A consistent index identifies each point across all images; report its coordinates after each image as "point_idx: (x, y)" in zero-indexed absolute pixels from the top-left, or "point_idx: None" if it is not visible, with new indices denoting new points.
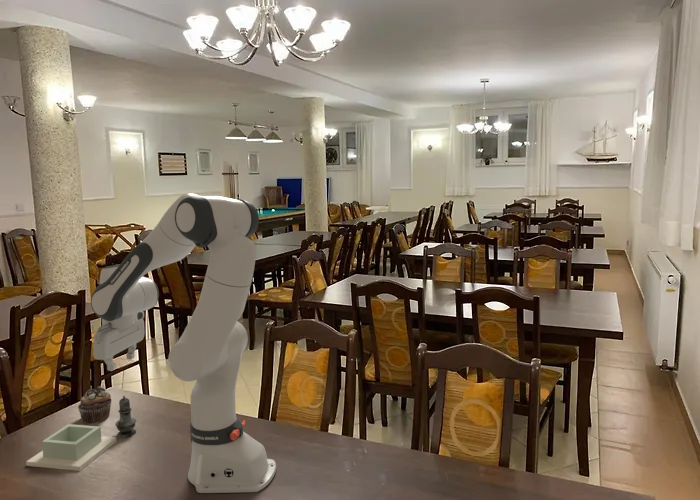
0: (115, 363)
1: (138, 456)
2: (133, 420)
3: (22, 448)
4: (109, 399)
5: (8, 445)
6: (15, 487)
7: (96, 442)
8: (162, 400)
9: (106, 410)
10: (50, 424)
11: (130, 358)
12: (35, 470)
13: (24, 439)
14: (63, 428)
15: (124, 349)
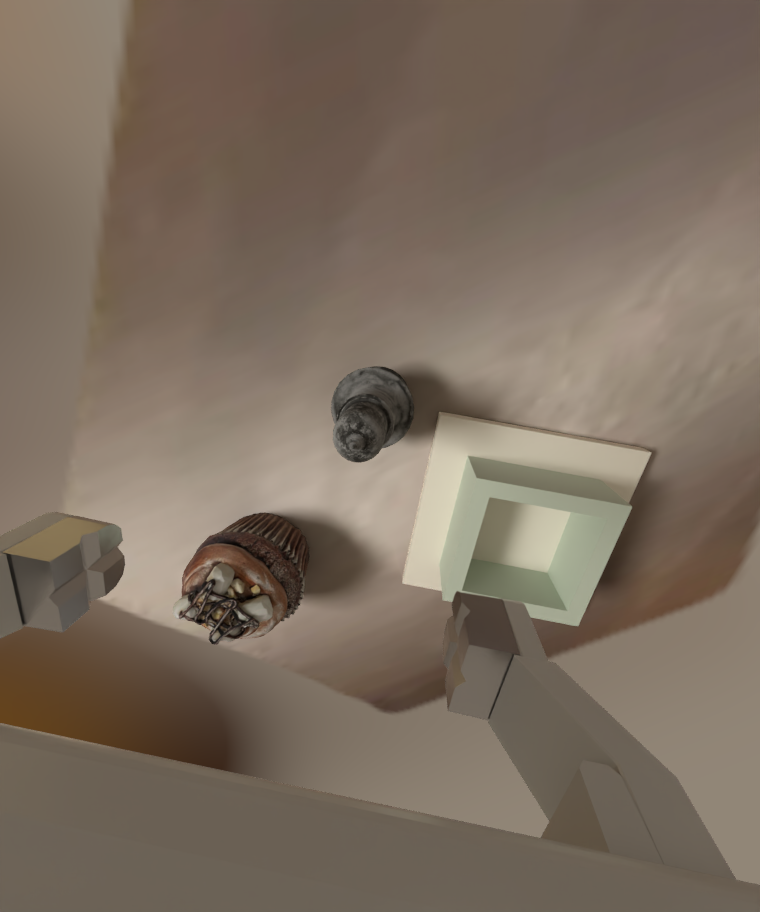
0: (475, 644)
1: (571, 270)
2: (364, 379)
3: None
4: (221, 543)
5: (444, 691)
6: (698, 583)
7: (497, 464)
8: (92, 370)
9: (260, 528)
10: (321, 648)
11: (108, 542)
12: (605, 575)
13: (412, 671)
14: None
15: (186, 767)
